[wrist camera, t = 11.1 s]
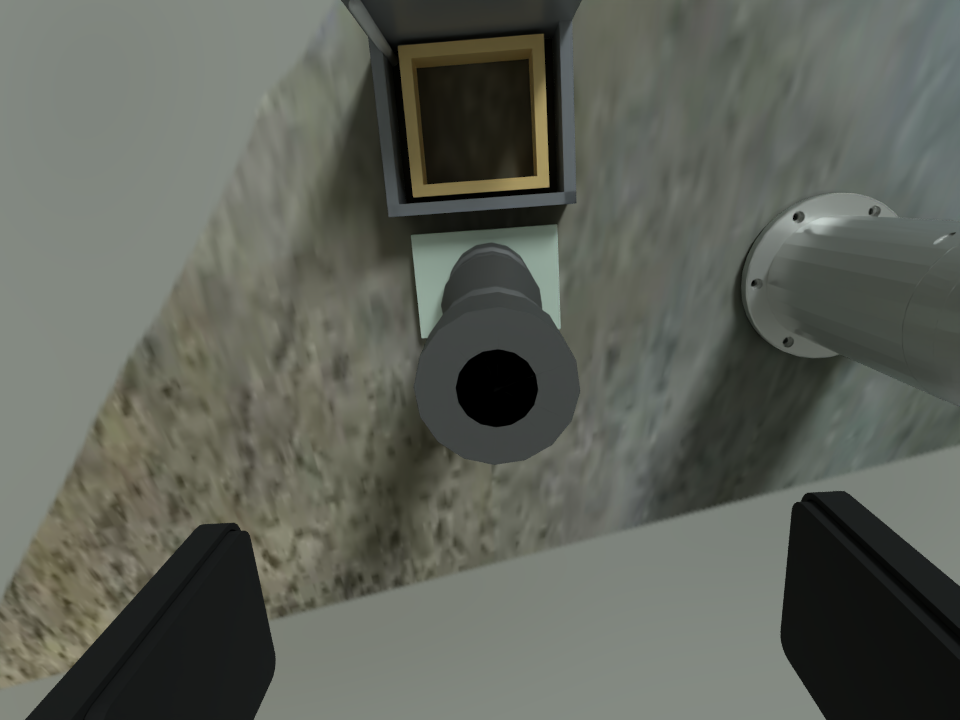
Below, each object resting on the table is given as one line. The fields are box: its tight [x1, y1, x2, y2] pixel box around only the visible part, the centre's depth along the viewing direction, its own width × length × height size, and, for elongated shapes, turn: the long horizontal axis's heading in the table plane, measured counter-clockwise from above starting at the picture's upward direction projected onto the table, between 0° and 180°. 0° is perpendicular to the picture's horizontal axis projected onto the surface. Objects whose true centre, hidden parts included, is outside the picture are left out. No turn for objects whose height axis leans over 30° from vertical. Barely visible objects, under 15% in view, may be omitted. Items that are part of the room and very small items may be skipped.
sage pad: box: [411, 224, 561, 338], centre depth 44 cm, size 11×8×1 cm
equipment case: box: [341, 0, 581, 217], centre depth 34 cm, size 13×12×14 cm
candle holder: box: [414, 242, 580, 465], centre depth 31 cm, size 6×6×25 cm
